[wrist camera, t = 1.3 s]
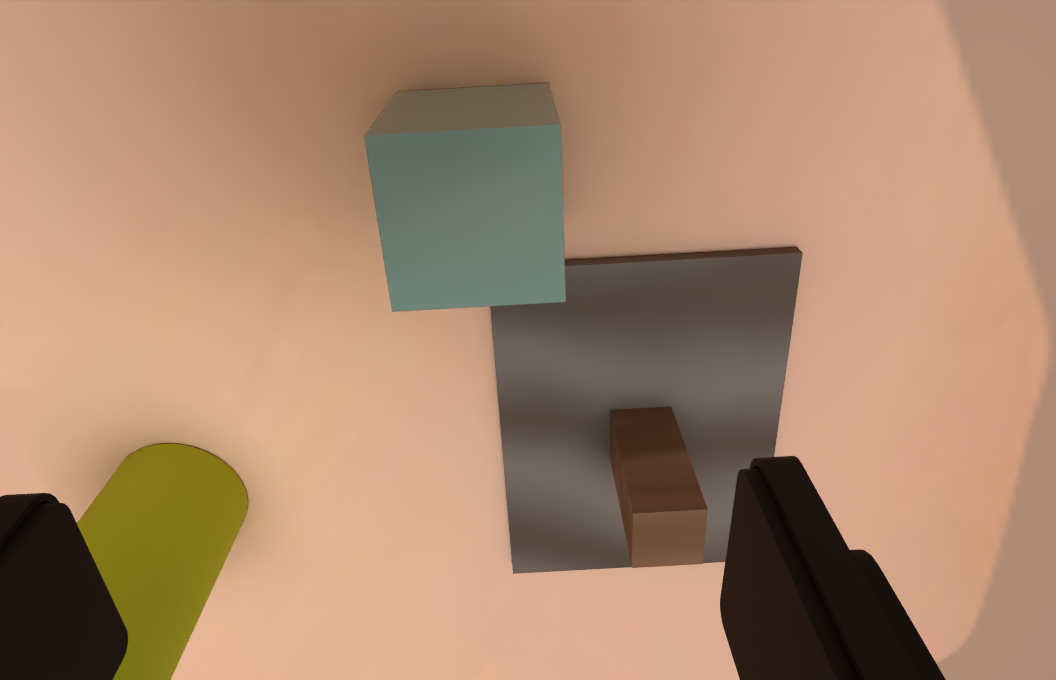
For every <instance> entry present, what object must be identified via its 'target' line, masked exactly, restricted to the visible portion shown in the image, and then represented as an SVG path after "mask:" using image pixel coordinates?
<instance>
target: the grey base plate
mask: <svg viewBox="0 0 1056 680" xmlns="http://www.w3.org/2000/svg"><path fill="white" fill-rule="evenodd" d="M801 260H802V252H801V251H800V250H799V249H798V248H797V247H788V248H771V249H753V250H736V251H718V252H700V253H683V254H665V255H648V256H630V257H613V258H595V259H578V260H565V293H566V302H554V303H537V304H519V305H501V306H491V318H492V329H493V341H494V353H495V365H496V377H497V388H498V400H499V412H500V424H501V436H502V447H503V459H504V471H505V483H506V495H507V506H508V518H509V530H510V542H511V554H512V565H513V574H514V573H532V572H550V571H568V570H586V569H604V568H622V567H632V568H637V567H655V566H673V565H691V564H703V563H712V562H726V554H727V547H728V540H729V533H730V525H731V518H732V511H733V504H734V496H735V489H736V482H737V476H738V472H739V470H741V469H750V465H751V462H752V460H753V459H754V458H765V457H774V452H775V445H776V438H777V431H778V424H779V417H780V410H781V403H782V395H783V388H784V381H785V374H786V367H787V360H788V353H789V345H790V338H791V331H792V324H793V317H794V310H795V303H796V296H797V288H798V281H799V274H800V267H801Z"/></svg>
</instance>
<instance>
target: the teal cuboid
mask: <svg viewBox="0 0 1056 680" xmlns="http://www.w3.org/2000/svg"><path fill="white" fill-rule="evenodd" d="M364 137H365V144H366V150H367V156H368V163H369V169H370V175H371V182H372V188H373V194H374V201H375V207H376V213H377V220H378V226H379V232H380V239H381V245H382V251H383V258H384V264H385V270H386V277H387V283H388V289H389V296H390V302H391V308H392V312H396V311H413V310H431V309H449V308H466V307H484V306H501V305H519V304H537V303H554V302H566V293H565V258H564V224H563V190H562V155H561V124H560V121H559V117H558V114H557V110H556V107H555V104H554V100H553V97H552V93H551V90H550V87H549V83H536V84H518V85H501V86H484V87H466V88H449V89H432V90H415V91H398V92H397V93H396V94H395V96H394V97H393V98H392V100H391V101H390V102H389V104H388V105H387V106H386V108H385V109H384V110H383V112H382V113H381V114H380V116H379V117H378V118H377V120H376V121H375V122H374V123H373V125H372V126H371V127H370V129H369V130H368V131H367V133H366V134H365V135H364Z"/></svg>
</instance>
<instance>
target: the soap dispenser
mask: <svg viewBox="0 0 1056 680" xmlns="http://www.w3.org/2000/svg"><path fill="white" fill-rule="evenodd" d="M247 509H248V498H247V493H246V490H245V487H244V485H243V483H242V481H241V480H240V478H239V477H238V475H237V474H236V473H235V472H234V471H233V470H232V469H231V468H230V467H229V466H228V465H227V464H226V463H224V462H223V461H222V460H220V459H219V458H217V457H216V456H214V455H212V454H210V453H208V452H206V451H203V450H201V449H198V448H195V447H191V446H187V445H181V444H157V445H151V446H147V447H144V448H142V449H139V450H137V451H136V452H134V453H132V454H131V455H129V456H128V457H127V458H126V459H125V460H124V461H123V462H122V464H121V465H120V466H119V468H118V469H117V470H116V472H115V473H114V474H113V476H112V477H111V478H110V480H109V481H108V482H107V484H106V485H105V486H104V488H103V489H102V490H101V492H100V493H99V494H98V496H97V497H96V498H95V500H94V501H93V502H92V504H91V505H90V506H89V508H88V509H87V510H86V512H85V513H84V515H83V516H82V517H81V519H80V520H79V521H78V523H77V525H78V527H79V529H80V532H81V534H82V536H83V538H84V540H85V542H86V544H87V546H88V548H89V551H90V553H91V555H92V557H93V559H94V561H95V563H96V565H97V567H98V570H99V572H100V574H101V576H102V578H103V580H104V582H105V584H106V586H107V589H108V591H109V593H110V595H111V597H112V599H113V601H114V603H115V605H116V608H117V610H118V612H119V614H120V616H121V618H122V620H123V622H124V624H125V627H126V629H127V632H128V646H127V651H126V654H125V656H124V659H123V661H122V663H121V665H120V666H119V668H118V670H117V672H116V674H115V676H114V678H113V680H171V677H172V675H173V673H174V671H175V669H176V667H177V664H178V662H179V660H180V658H181V656H182V654H183V651H184V649H185V647H186V645H187V643H188V641H189V638H190V636H191V634H192V632H193V630H194V627H195V625H196V623H197V621H198V619H199V617H200V614H201V612H202V610H203V608H204V606H205V604H206V601H207V599H208V597H209V595H210V593H211V590H212V588H213V586H214V584H215V582H216V580H217V577H218V575H219V573H220V571H221V569H222V567H223V564H224V562H225V560H226V558H227V556H228V553H229V551H230V549H231V547H232V545H233V543H234V540H235V538H236V536H237V534H238V532H239V530H240V527H241V525H242V523H243V521H244V519H245V516H246V513H247Z"/></svg>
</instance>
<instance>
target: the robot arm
mask: <svg viewBox="0 0 1056 680" xmlns="http://www.w3.org/2000/svg"><path fill="white" fill-rule="evenodd" d="M720 610H721V618H722V623H723V627H724V630H725V633H726V637H727V640H728V643H729V646H730V649H731V653H732V656H733V659H734V662H735V665H736V668H737V672H738V675H739V678H740V680H946V679H945V678H944V676H943V674H942V673H941V671H940V669H939V668H938V666H937V664H936V662H935V661H934V659H933V657H932V656H931V654H930V652H929V650H928V649H927V647H926V645H925V644H924V642H923V640H922V638H921V637H920V635H919V633H918V632H917V630H916V628H915V627H914V625H913V623H912V621H911V620H910V618H909V616H908V615H907V613H906V611H905V609H904V608H903V606H902V604H901V603H900V601H899V599H898V598H897V596H896V594H895V592H894V591H893V589H892V587H891V586H890V584H889V582H888V580H887V579H886V577H885V575H884V574H883V572H882V570H881V569H880V567H879V565H878V564H877V562H876V561H875V560H874V558H873V557H872V556H871V555H870V554H869V553H867V552H866V551H865V550H849V548H848V546H847V545H846V543H845V541H844V539H843V537H842V536H841V534H840V532H839V530H838V528H837V526H836V525H835V523H834V521H833V519H832V517H831V516H830V514H829V512H828V510H827V508H826V507H825V505H824V503H823V501H822V499H821V498H820V496H819V494H818V492H817V490H816V489H815V487H814V485H813V483H812V481H811V480H810V478H809V476H808V474H807V472H806V471H805V469H804V467H803V465H802V463H801V462H800V461H799V459H798V458H797V457H795V456H786V457H765V458H754V459H753V460H752V462H751V465H750V469H741V470H739V472H738V476H737V482H736V489H735V496H734V504H733V511H732V518H731V525H730V533H729V540H728V547H727V554H726V562H725V569H724V576H723V583H722V591H721V598H720ZM127 646H128V632H127V629H126V627H125V624H124V622H123V620H122V618H121V616H120V614H119V612H118V610H117V608H116V605H115V603H114V601H113V599H112V597H111V595H110V593H109V591H108V589H107V586H106V584H105V582H104V580H103V578H102V576H101V574H100V572H99V570H98V567H97V565H96V563H95V561H94V559H93V557H92V555H91V553H90V551H89V548H88V546H87V544H86V542H85V540H84V538H83V536H82V534H81V532H80V529H79V527H78V525H77V523H76V521H75V519H74V517H73V515H72V513H71V510H70V509H69V507H68V506H67V505H65V504H64V503H59V501H58V500H57V499H56V497H55V496H53V495H51V494H48V493H37V494H16V495H4V496H1V497H0V680H113V678H114V676H115V674H116V672H117V670H118V668H119V666H120V665H121V663H122V661H123V659H124V656H125V654H126V651H127Z"/></svg>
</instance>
